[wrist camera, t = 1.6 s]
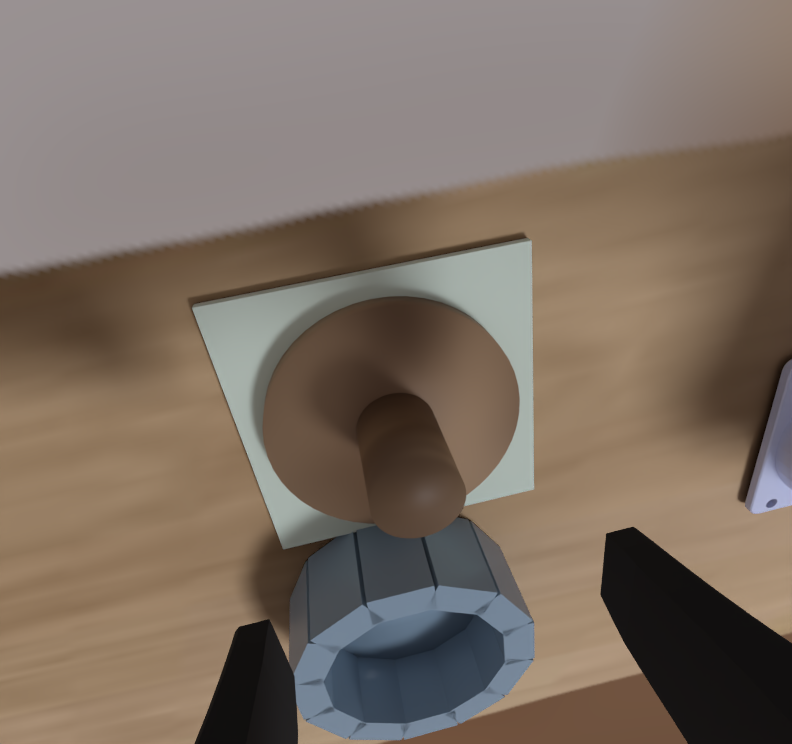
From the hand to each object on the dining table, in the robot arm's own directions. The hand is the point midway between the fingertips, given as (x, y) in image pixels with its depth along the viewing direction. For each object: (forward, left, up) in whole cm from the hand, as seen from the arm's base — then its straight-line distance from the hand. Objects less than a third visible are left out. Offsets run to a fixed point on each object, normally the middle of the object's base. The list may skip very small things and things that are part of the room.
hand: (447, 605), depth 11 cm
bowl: (+1, +10, -8) cm, 12 cm away
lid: (0, 0, -7) cm, 7 cm away
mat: (0, 0, -8) cm, 8 cm away
